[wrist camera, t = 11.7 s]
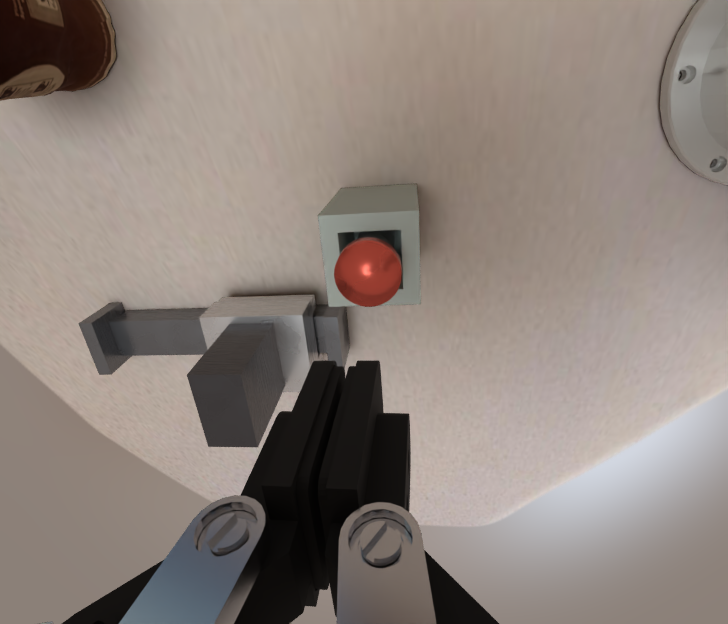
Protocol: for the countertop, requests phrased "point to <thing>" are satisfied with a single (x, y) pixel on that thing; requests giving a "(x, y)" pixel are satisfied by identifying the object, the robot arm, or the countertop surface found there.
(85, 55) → the coffee cup
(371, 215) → the grey square housing
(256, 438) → the carriage
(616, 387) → the countertop surface
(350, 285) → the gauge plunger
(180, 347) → the rail
